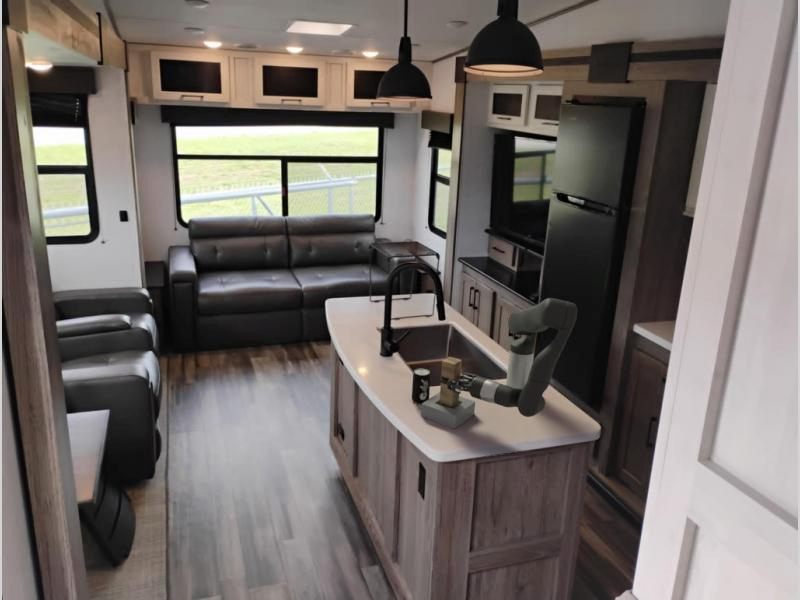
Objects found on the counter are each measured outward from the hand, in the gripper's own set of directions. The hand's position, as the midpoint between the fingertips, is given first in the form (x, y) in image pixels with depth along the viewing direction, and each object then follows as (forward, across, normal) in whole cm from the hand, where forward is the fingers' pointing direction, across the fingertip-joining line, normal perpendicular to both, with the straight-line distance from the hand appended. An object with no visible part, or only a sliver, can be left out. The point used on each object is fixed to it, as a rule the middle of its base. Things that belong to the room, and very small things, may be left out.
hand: (444, 376), depth 223 cm
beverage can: (+12, -3, +15) cm, 19 cm away
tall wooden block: (-3, 0, +9) cm, 9 cm away
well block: (-2, 0, +14) cm, 15 cm away
